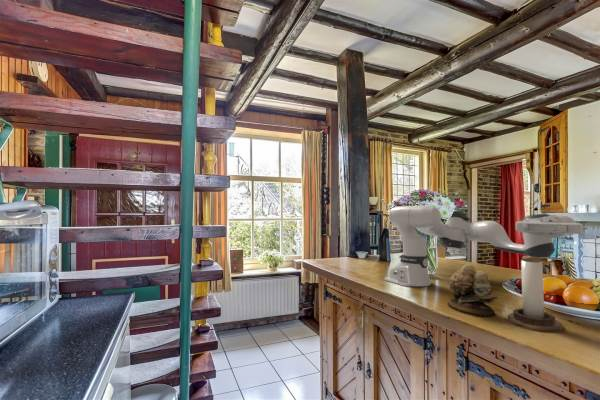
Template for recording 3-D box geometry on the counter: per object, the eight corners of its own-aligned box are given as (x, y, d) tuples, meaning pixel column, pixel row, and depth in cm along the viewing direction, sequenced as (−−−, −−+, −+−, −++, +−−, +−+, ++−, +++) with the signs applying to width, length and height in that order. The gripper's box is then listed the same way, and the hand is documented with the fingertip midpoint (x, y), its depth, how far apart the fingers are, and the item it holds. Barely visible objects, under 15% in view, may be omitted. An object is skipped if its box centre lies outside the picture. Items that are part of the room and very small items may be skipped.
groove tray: (500, 321, 99) (499, 312, 99) (517, 312, 107) (517, 304, 107) (553, 335, 88) (553, 325, 88) (568, 324, 96) (568, 315, 96)
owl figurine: (506, 315, 106) (504, 266, 106) (485, 321, 101) (483, 269, 101) (460, 300, 122) (458, 258, 122) (439, 305, 117) (438, 261, 117)
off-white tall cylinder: (520, 319, 98) (518, 257, 99) (526, 315, 101) (524, 255, 102) (541, 324, 94) (538, 259, 94) (547, 320, 97) (544, 257, 98)
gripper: (589, 236, 111) (578, 238, 103) (523, 233, 128) (510, 235, 120) (588, 219, 111) (577, 220, 104) (523, 218, 128) (509, 219, 120)
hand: (540, 228), depth 112 cm, fingers open, 8 cm apart
